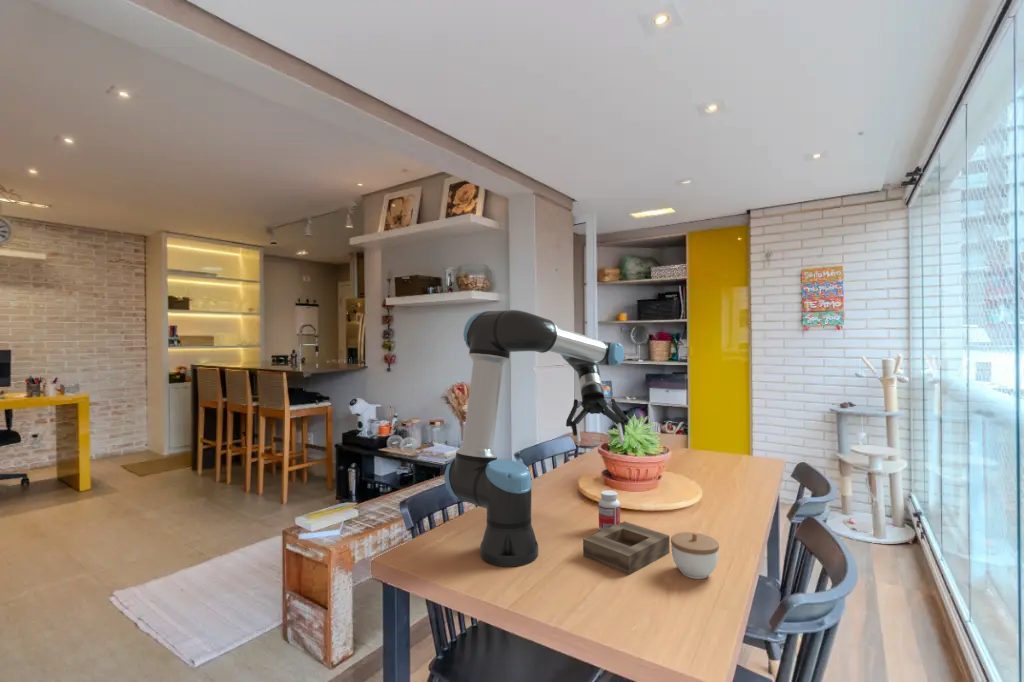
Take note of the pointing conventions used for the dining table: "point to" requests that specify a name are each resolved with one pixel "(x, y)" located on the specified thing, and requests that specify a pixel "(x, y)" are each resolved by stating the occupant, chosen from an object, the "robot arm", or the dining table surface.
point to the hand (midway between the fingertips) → (601, 443)
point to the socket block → (626, 547)
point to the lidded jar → (694, 554)
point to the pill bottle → (608, 510)
